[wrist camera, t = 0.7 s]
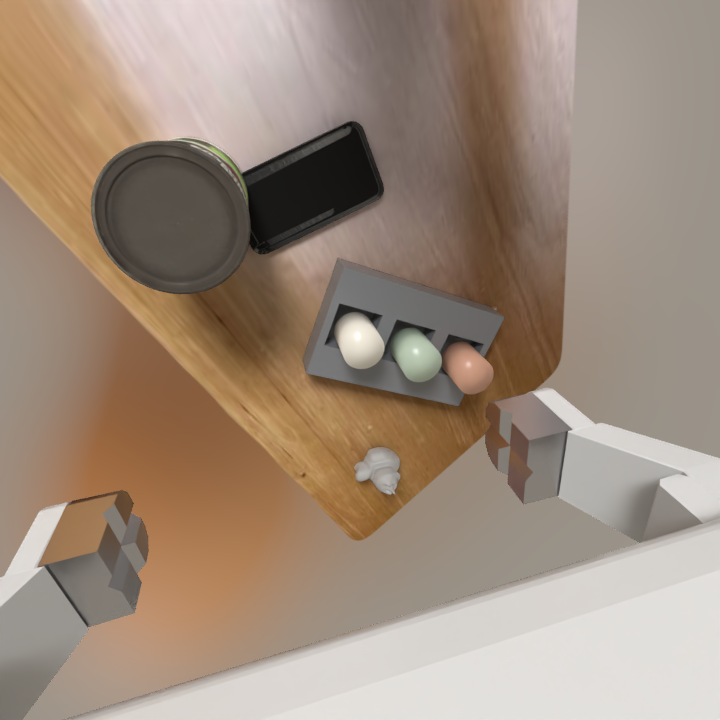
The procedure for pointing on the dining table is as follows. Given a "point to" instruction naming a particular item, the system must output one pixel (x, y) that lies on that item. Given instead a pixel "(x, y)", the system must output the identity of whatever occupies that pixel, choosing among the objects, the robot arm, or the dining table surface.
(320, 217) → the phone
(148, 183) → the coffee can
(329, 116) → the dining table surface
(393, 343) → the sage button
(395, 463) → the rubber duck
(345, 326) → the ivory button
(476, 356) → the terracotta button
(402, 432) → the dining table surface
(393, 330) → the grey rectangular tray
